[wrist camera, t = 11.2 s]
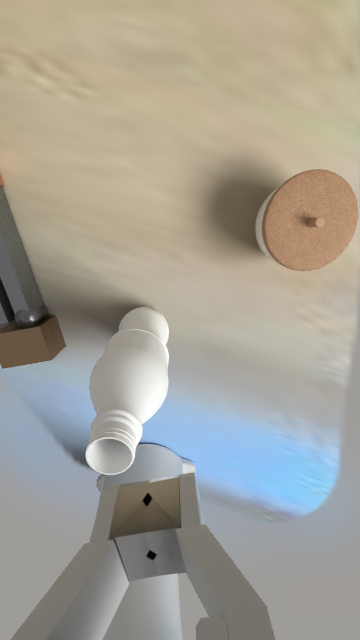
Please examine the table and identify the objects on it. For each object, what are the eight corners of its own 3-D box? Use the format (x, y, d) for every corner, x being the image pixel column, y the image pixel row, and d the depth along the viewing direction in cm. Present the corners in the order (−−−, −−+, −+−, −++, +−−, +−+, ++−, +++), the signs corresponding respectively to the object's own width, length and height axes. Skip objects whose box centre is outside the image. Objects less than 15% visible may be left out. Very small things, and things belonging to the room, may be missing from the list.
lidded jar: (307, 169, 34) (357, 144, 25) (328, 245, 37) (379, 246, 28) (233, 206, 35) (255, 195, 26) (259, 277, 38) (288, 288, 29)
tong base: (65, 345, 40) (51, 360, 35) (22, 353, 40) (2, 368, 35) (3, 159, 32) (-26, 144, 27) (-51, 168, 32) (-89, 156, 27)
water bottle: (128, 350, 41) (71, 508, 17) (117, 308, 38) (31, 419, 15) (172, 342, 40) (177, 489, 17) (163, 299, 38) (154, 396, 14)
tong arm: (50, 317, 38) (37, 326, 34) (34, 320, 38) (18, 329, 34) (-5, 159, 32) (-30, 148, 28) (-25, 163, 32) (-53, 152, 28)
